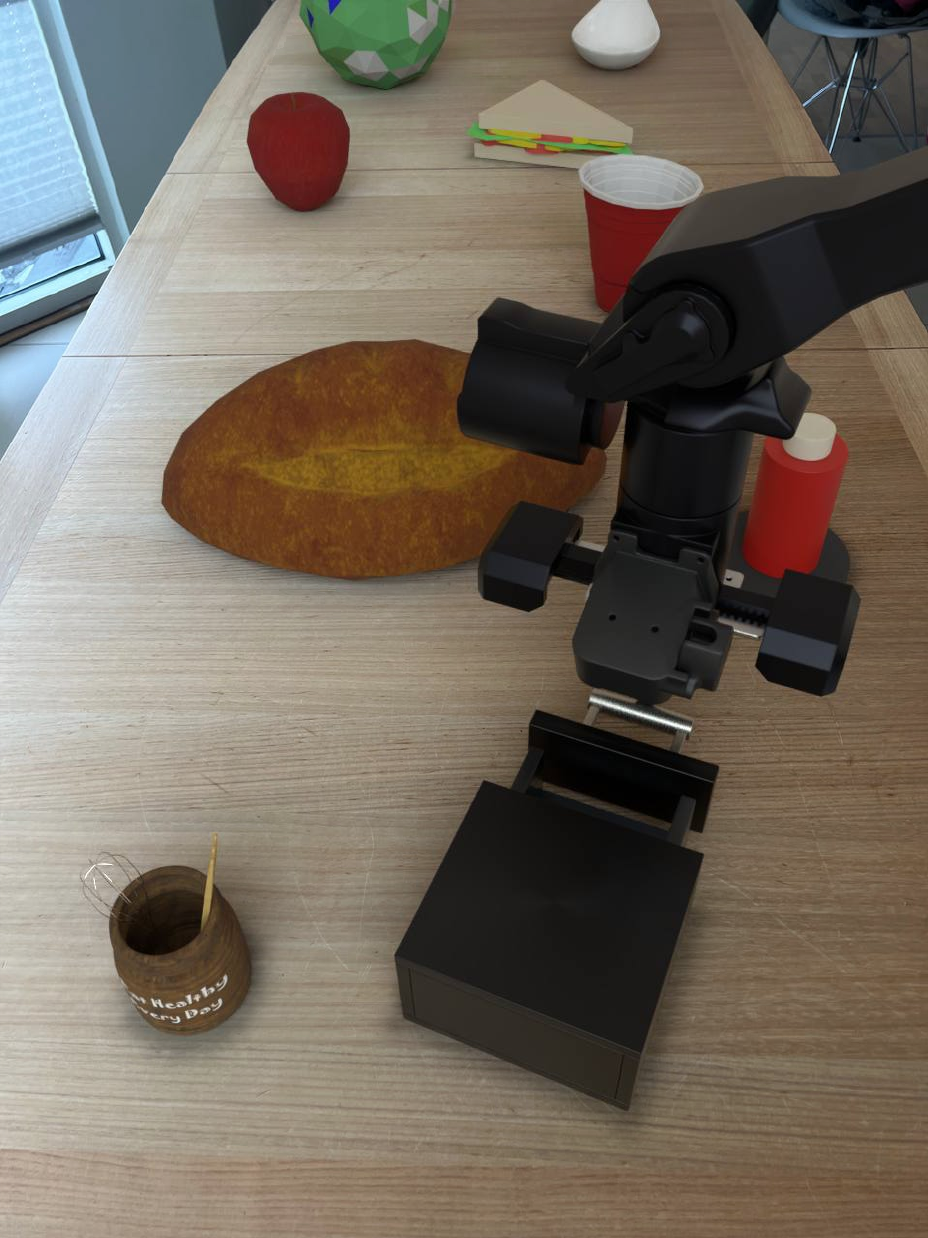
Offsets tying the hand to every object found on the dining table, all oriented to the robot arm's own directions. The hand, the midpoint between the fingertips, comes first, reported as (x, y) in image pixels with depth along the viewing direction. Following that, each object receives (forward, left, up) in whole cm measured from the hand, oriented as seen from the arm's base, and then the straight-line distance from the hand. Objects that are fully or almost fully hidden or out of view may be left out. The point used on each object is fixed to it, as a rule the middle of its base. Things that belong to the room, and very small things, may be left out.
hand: (647, 697), depth 61 cm
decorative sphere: (+64, -95, -4) cm, 115 cm away
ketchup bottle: (-4, -19, -3) cm, 20 cm away
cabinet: (0, +16, -4) cm, 16 cm away
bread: (+24, -15, -4) cm, 29 cm away
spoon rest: (+38, -117, -4) cm, 123 cm away
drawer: (0, +7, -3) cm, 8 cm away
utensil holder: (+16, +23, -4) cm, 29 cm away
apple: (+55, -58, -4) cm, 80 cm away
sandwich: (+34, -79, -4) cm, 86 cm away
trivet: (-4, -19, -4) cm, 20 cm away
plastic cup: (+16, -50, -4) cm, 52 cm away
